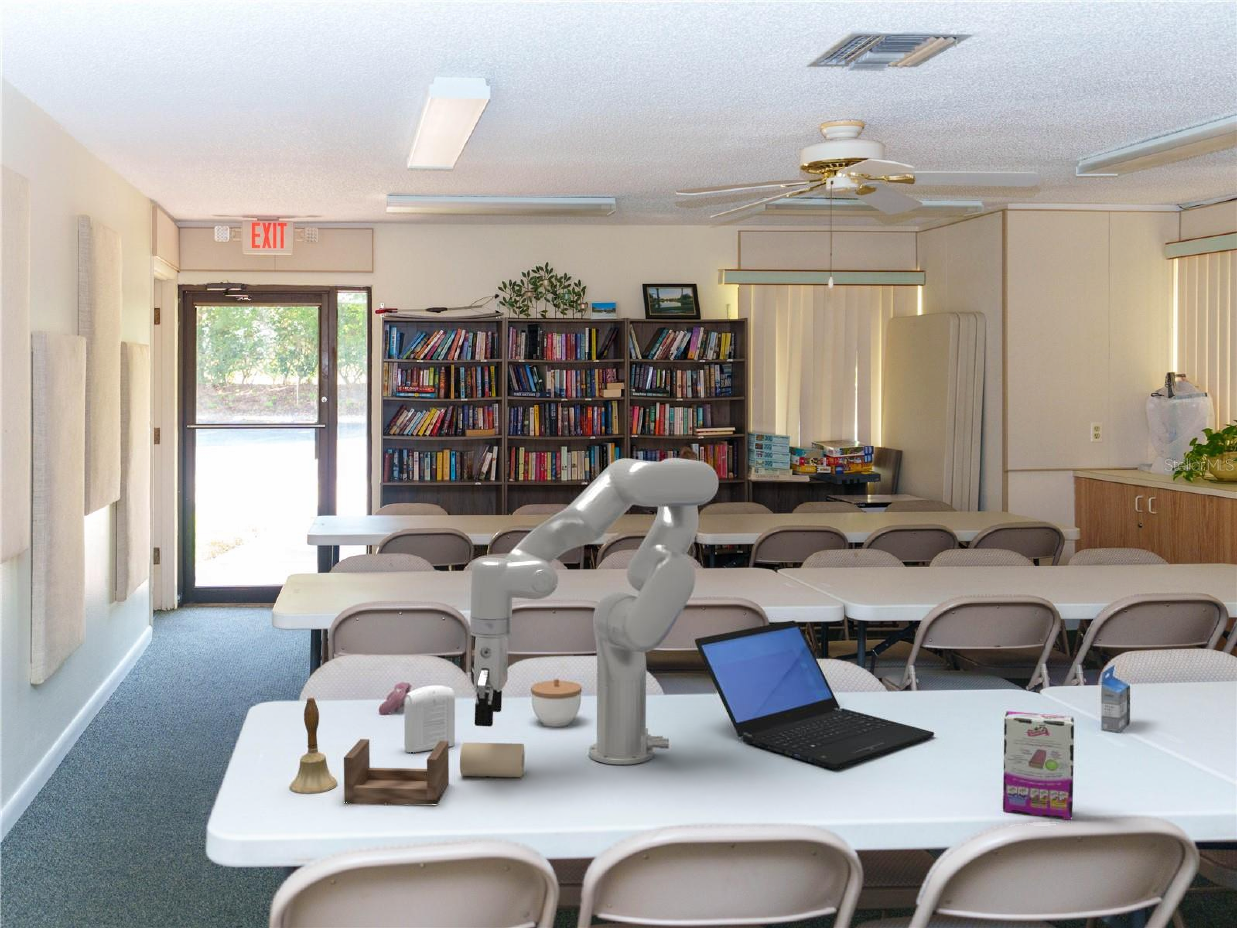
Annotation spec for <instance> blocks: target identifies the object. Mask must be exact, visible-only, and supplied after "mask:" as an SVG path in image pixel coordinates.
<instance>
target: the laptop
mask: <svg viewBox="0 0 1237 928" xmlns="http://www.w3.org/2000/svg"><path fill="white" fill-rule="evenodd" d="M694 643H695V645H696V648H697V650H698V652H699V654H700V657H701V659H702V661H703V662H704V665H705V668H706V669H707V672H708V673H709V676H710V678H711V680H712V683H713V684H714V687H715V689H716V691H717V693H718V695H719V698H720V700H721V703H722V704H723V706H724V709H725V710H726V713H727V715H728V717H729V719H730V721H731V724H732V726H733V728H734V730H735V732H736V734H737V737H739V738H741V737H742V741H744V742H746V743H748V744H751V745H753V746H757V747H760V748H762V749H765V750H766V749H767V750H769V751H772V752H776V753H779V754H782V755H784V756H789V757H793V758H795V759H799V760H801V761H805V762H808V763H812V764H815V765H818V766H821V767H824V768H828V769H831V770H834V771H836V770H839V769H842V768H844V767H848V766H850V765H852V764H856V763H858V762H861V761H863V760H867V759H870V758H873V757H877V756H881V755H883V754H885V753H889V752H892V751H895V750H897V749H901V748H904V747H907V746H911V745H912V744H916V743H918V742H919V743H920V742H921V741H925V740H928V739H931V738H933V737H934V736H935V732H934V731H931V730H927V729H923V728H919V727H916V726H911V725H909V724H905V723H900V722H897V721H893V720H890V719H886V718H883V717H882V718H881V717H877V716H873V715H869V714H866V713H862V712H857V711H854V710H850V709H847V708H844V707H843V708H841V706H840V705H839V703H838V701H837V699H836V696H835V694H834V693H833V690H832V688H831V687H830V685H829V682H828V680H827V677H826V676H825V674H824V672H823V670H822V668H821V666H820V664H819V661H818V659H817V658H816V655H815V654H814V651H813V650H812V647H811V645H810V644H809V641H808V640H807V638H806V636H805V634H804V633H803V631H802V629H801V626H800V624H798V623H797V622H796V621H795V620H788V621H782V622H777V623H771V624H765V625H761V626H755V627H750V628H744V629H739V630H734V631H730V632H729V631H728V632H724V633H719V634H714V635H708V636H703V637H697V638H694Z"/></svg>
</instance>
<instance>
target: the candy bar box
mask: <svg viewBox="0 0 1237 928" xmlns="http://www.w3.org/2000/svg"><path fill="white" fill-rule="evenodd" d="M1003 723H1004V724H1003V725H1004V726H1003V741H1004V742H1003V778H1002V779H1003V780H1002V781H1003V782H1002V783H1003V784H1002V785H1003V794H1002V811H1003V812H1005V813H1010V814H1011V813H1013V814H1020V815H1026V816H1027V815H1028V816H1034V817H1035V816H1036V817H1045V818H1054V819H1062V820H1069V819H1071V818H1072V819H1073V811H1074V810H1073V804H1074V764H1075V763H1074V761H1075V760H1074V759H1075V756H1074V753H1075V751H1074V750H1075V717H1074V716H1069V715H1068V716H1067V715H1065V716H1064V715H1057V714H1056V715H1055V714H1044V713H1036V712H1035V713H1033V712H1024V711H1023V712H1022V711H1010V710H1006V712H1005V714H1004V719H1003ZM1072 819H1071V820H1072Z"/></svg>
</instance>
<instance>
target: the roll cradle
mask: <svg viewBox="0 0 1237 928" xmlns="http://www.w3.org/2000/svg"><path fill="white" fill-rule="evenodd" d="M449 748H450V746H449V741H439V743H438V744H437V745H436V747H435V748H434V749H432V751H431V753H430V754H429V756H428V757H427V758H426V768H408V767H407V768H405V767H403V768H402V767H401V768H400V767H399V768H398V767H370V765H371V764H370V761H371V760H370V759H371V758H370V739H369V738H367V739H366V738H360V739H359V740H358V741H357V743H356V744H355V745H354V746H353V747H352V748H351V749H350V750H349V751H348V752H347V753H346V754H345V756H344V757H343V793H344V795H343V797H344V799H343V800H344V802H345V803H344V802H343V803H344V804H358V803H363V805H364V803H365V804H366V805H368V804H370V805H398V804H437V803H438V804H439V802H440V800H441V799H442V797H443V795H444V794H443V793H445V792H446V791H447V789H446V788H448V787H449V785H450V781H449V780H450V774H449V773H450V768H449V766H450V765H449V763H450V762H449V761H450V759H449V756H450V755H449V752H450V751H449ZM447 786H448V787H447ZM444 791H445V792H444ZM442 794H443V795H442ZM441 796H442V797H441ZM440 798H441V799H440ZM438 801H439V802H438ZM346 802H347V803H346ZM385 803H386V804H385ZM438 804H437V805H438Z"/></svg>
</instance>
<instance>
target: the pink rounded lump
mask: <svg viewBox="0 0 1237 928" xmlns="http://www.w3.org/2000/svg"><path fill="white" fill-rule="evenodd" d="M411 688H412V685H411V684H410V683H409V682H405V681H402V682H399V683H397V684H396V685H395V686H394V687H393V689H394V690H393V691H391V692H390V693H389V694H387V697H386V700H385V701H384V702H382V703H381V704H380V706H379V707H378V713H379V714H380V713H381V715H387V714H391V713H392V712H393V711H395V712H399V709H400V708H401V707H402V706H403V705H404V706H405V696H406V694H407V693H409V692H411Z"/></svg>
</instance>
